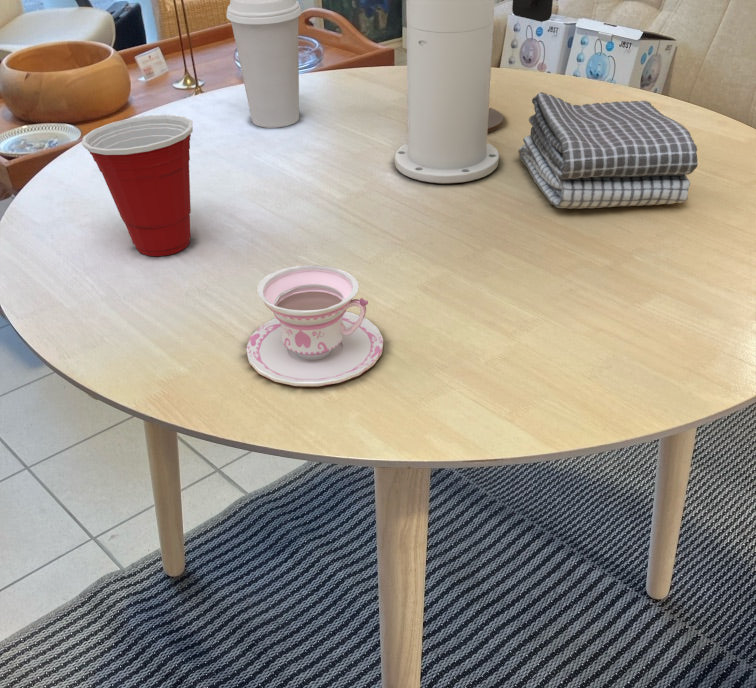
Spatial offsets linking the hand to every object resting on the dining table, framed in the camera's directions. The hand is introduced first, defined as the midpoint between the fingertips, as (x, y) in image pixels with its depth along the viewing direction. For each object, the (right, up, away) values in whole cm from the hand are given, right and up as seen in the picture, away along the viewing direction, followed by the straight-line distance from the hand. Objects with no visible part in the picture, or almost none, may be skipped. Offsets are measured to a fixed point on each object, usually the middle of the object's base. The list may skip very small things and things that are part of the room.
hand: (576, 4), depth 63 cm
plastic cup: (-38, -9, +28) cm, 48 cm away
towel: (+11, +1, +37) cm, 38 cm away
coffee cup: (-29, +16, +55) cm, 64 cm away
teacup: (-20, -23, +12) cm, 33 cm away
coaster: (-3, +15, +52) cm, 54 cm away
